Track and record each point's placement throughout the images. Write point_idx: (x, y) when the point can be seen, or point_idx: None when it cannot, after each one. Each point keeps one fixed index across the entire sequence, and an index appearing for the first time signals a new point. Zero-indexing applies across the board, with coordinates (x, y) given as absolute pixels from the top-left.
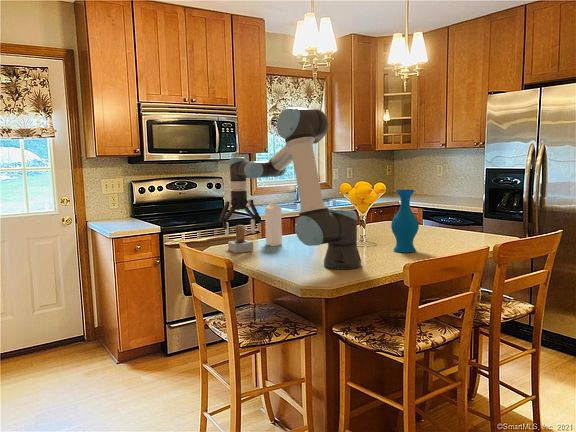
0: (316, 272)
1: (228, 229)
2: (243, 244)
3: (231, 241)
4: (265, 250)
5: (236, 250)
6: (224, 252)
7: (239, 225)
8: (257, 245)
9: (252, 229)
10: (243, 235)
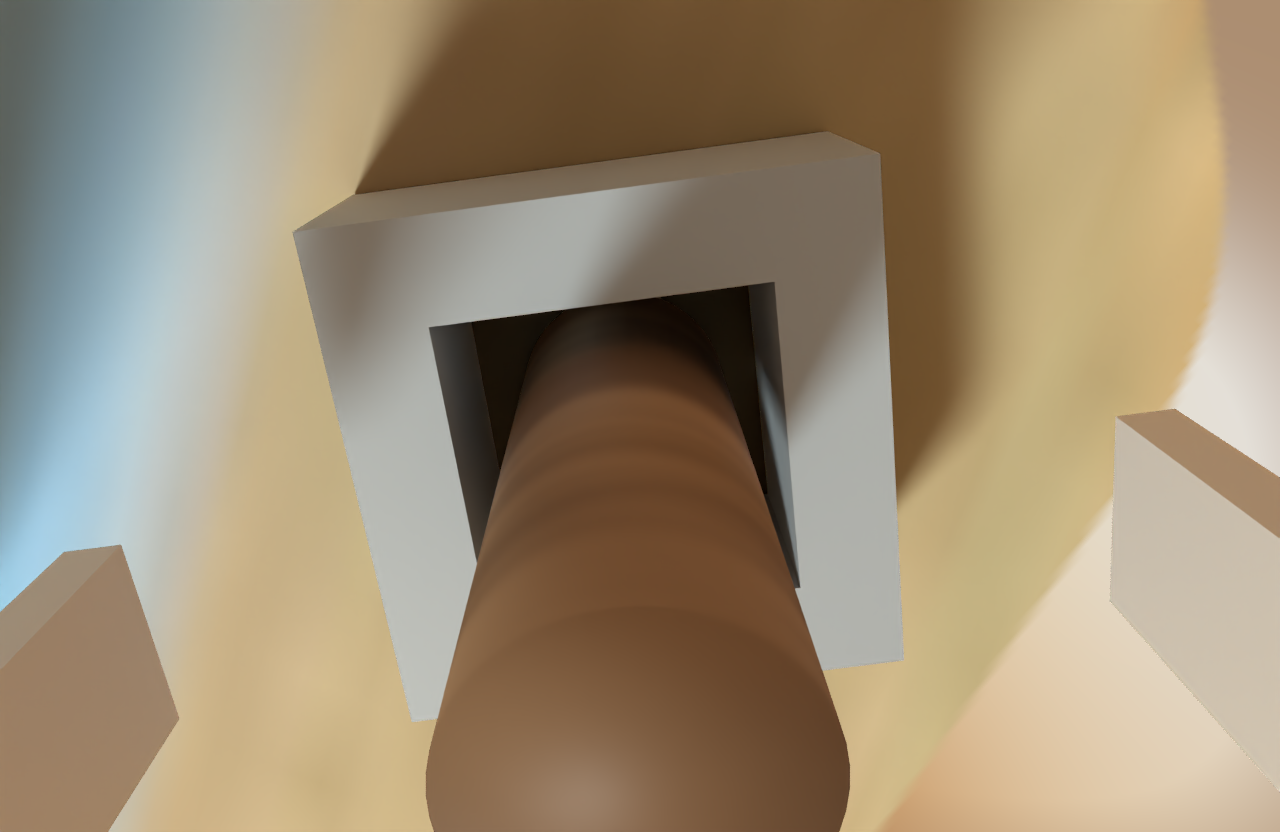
0: None
1: (1274, 526)
2: (621, 181)
3: (819, 643)
4: (43, 67)
5: (826, 136)
6: (1038, 329)
7: (647, 827)
8: None
9: (83, 698)
10: (544, 448)
